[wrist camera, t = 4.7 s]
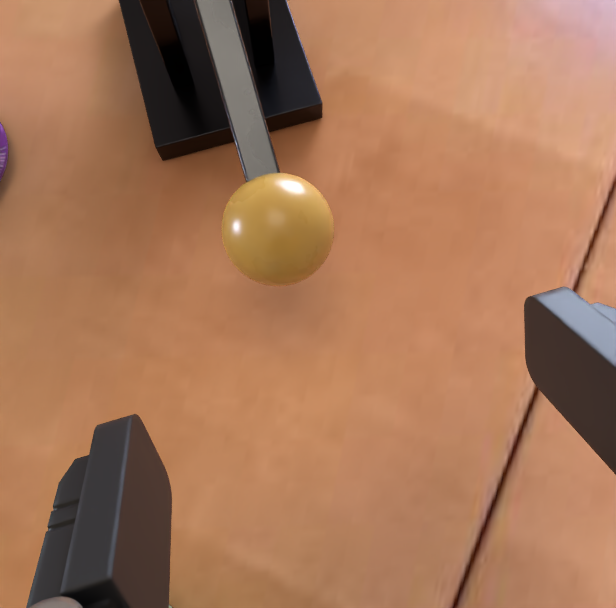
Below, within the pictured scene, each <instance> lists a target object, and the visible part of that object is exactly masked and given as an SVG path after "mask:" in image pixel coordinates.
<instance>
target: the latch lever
mask: <svg viewBox="0 0 616 608" xmlns="http://www.w3.org/2000/svg"><path fill="white" fill-rule="evenodd" d="M194 3H195V7H196V10H197V14H198V17H199V21H200V24H201V28H202V31H203V35H204V38H205V41H206V45H207V48H208V52H209V55H210V59H211V62H212V66H213V69H214V73H215V76H216V80H217V83H218V86H219V90H220V93H221V97H222V100H223V104H224V107H225V111H226V114H227V118H228V121H229V125H230V128H231V131H232V135H233V138H234V142H235V145H236V149H237V152H238V156H239V159H240V163H241V166H242V170H243V173H244V177H245V180H246V183H244V184H243V185H242V186H241V187H240V188H238V189H237V190H236V192H235V193H234V194H233V195H232V197H231V198H230V200H229V201H228V203H227V206H226V208H225V211H224V214H223V218H222V228H221V231H222V240H223V244H224V247H225V250H226V253H227V255H228V257H229V258H230V260H231V261H232V263H233V264H234V266H235V267H236V268H237V269H238V270H239V271H240V272H241V273H243V274H244V275H245V276H247V277H248V278H250V279H252V280H254V281H256V282H258V283H261V284H264V285H270V286H287V285H291V284H295V283H298V282H300V281H302V280H304V279H306V278H308V277H309V276H311V275H312V274H313V273H314V272H316V271H317V270H318V269H319V268H320V266H321V265H322V264H323V263H324V261H325V260H326V258H327V256H328V254H329V252H330V249H331V246H332V243H333V238H334V222H333V217H332V213H331V210H330V207H329V205H328V203H327V201H326V200H325V198H324V197H323V195H322V194H321V193H320V192H319V191H318V190H317V189H316V188H315V187H314V186H313V185H312V184H310V183H309V182H307V181H306V180H304V179H302V178H300V177H297V176H295V175H291V174H286V173H280V169H279V166H278V162H277V159H276V155H275V152H274V148H273V145H272V141H271V138H270V134H269V131H268V127H267V124H266V120H265V116H264V113H263V109H262V106H261V102H260V99H259V95H258V92H257V88H256V85H255V81H254V78H253V74H252V71H251V67H250V64H249V60H248V57H247V53H246V49H245V46H244V42H243V39H242V35H241V32H240V28H239V25H238V21H237V18H236V14H235V11H234V7H233V4H232V0H194Z"/></svg>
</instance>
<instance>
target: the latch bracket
mask: <svg viewBox="0 0 616 608" xmlns="http://www.w3.org/2000/svg"><path fill="white" fill-rule="evenodd" d="M119 3H120V7H121V11H122V15H123V19H124V23H125V27H126V31H127V35H128V39H129V43H130V47H131V51H132V55H133V59H134V63H135V67H136V71H137V75H138V79H139V83H140V87H141V91H142V95H143V99H144V103H145V107H146V111H147V115H148V119H149V123H150V127H151V131H152V135H153V139H154V143H155V147H156V149H157V151H158V153H159V155H160V157H161V159H162V160H167V159H171V158H175V157H178V156H182V155H186V154H189V153H193V152H197V151H200V150H204V149H208V148H211V147H215V146H219V145H223V144H226V143H230V142H234V138H233V135H232V131H231V128H230V125H229V121H228V118H227V114H226V111H225V107H224V104H223V100H222V97H221V93H220V90H219V86H218V83H217V80H216V76H215V73H214V69H213V66H212V62H211V59H210V55H209V52H208V48H207V45H206V41H205V38H204V35H203V31H202V28H201V24H200V21H199V17H198V14H197V10H196V7H195V3H194V0H119ZM232 4H233V7H234V11H235V14H236V18H237V21H238V25H239V28H240V32H241V35H242V39H243V42H244V46H245V49H246V53H247V57H248V60H249V64H250V67H251V71H252V74H253V78H254V81H255V85H256V88H257V92H258V95H259V99H260V102H261V106H262V109H263V113H264V116H265V120H266V124H267V127H268V131H269V132H271V131H274V130H278V129H282V128H285V127H289V126H293V125H297V124H300V123H304V122H308V121H311V120H315V119H319V118H322V100H321V97H320V95H319V92H318V89H317V86H316V83H315V80H314V77H313V75H312V72H311V69H310V66H309V63H308V60H307V57H306V55H305V52H304V49H303V46H302V43H301V40H300V37H299V35H298V32H297V29H296V26H295V23H294V20H293V17H292V15H291V12H290V9H289V6H288V3H287V0H232Z"/></svg>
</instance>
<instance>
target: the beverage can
mask: <svg viewBox="0 0 616 608" xmlns="http://www.w3.org/2000/svg"><path fill="white" fill-rule="evenodd" d="M7 160H8V142H7V137H6V133H5V130H4V128H3V126H2V124H1V122H0V181H1V179H2V177H3V174H4V172H5V169H6V165H7Z"/></svg>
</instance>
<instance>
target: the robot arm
mask: <svg viewBox="0 0 616 608" xmlns="http://www.w3.org/2000/svg"><path fill="white" fill-rule="evenodd" d="M524 321H525V358H526V364H527V368H528V371H529V374H530V376H531V378H532V380H533V382H534V383H535V385H536V386H537V387H538V389H539V390H540V391H541V392H542V393H543V394H544V395H545V396H546V398H547V399H548V400H549V401H550V402H551V403H552V404H553V405H554V406H555V408H556V409H557V410H558V411H559V412H560V413H561V414H562V415H563V416H564V418H565V419H566V420H567V421H568V422H569V423H570V424H571V425H572V426H573V428H574V429H575V430H576V431H577V432H578V433H579V434H580V435H581V436H582V438H583V439H584V440H585V441H586V442H587V443H588V444H589V445H590V446H591V448H592V449H593V450H594V451H595V452H596V453H597V454H598V455H599V457H600V458H601V459H602V460H603V461H604V462H605V463H606V464H607V465H608V467H609V468H610V469H611V470H612V471H613V472H614V473H615V474H616V309H615V308H612V307H609V306H606V305H604V304H601V303H594V304H589V303H588V302H587V301H585V300H584V299H583V298H581V297H580V296H579V295H577V294H576V293H575V292H573V291H572V290H571V289H569V288H567V287H560V288H557V289H554V290H550V291H547V292H543V293H540V294H537V295H533V296H530V297H528V298H527V299H526V300H525V304H524ZM53 509H54V511H52V512H51V515H50V519H49V523H48V531H47V532H46V534H45V538H44V542H43V546H42V549H41V553H40V557H39V561H38V565H37V568H36V572H35V576H34V580H33V584H32V587H31V591H30V595H29V599H28V603H27V606H26V608H169V580H170V546H171V513H172V494H171V487H170V482H169V478H168V475H167V472H166V469H165V467H164V465H163V463H162V461H161V459H160V457H159V455H158V453H157V450H156V448H155V446H154V444H153V442H152V440H151V438H150V436H149V434H148V432H147V430H146V428H145V426H144V424H143V422H142V420H141V419H140V417H139V416H138V415H137V414H133V415H130V416H127V417H123V418H120V419H116V420H113V421H110V422H106V423H103V424H99V425H97V426H96V428H95V430H94V435H93V439H92V444H91V449H90V454H89V455H88V456H84V457H81V458H77V459H75V460H74V462H73V463H72V465H71V466H70V468H69V469H68V471H67V472H66V473H65V475H64V476H63V478H62V479H61V481H60V482H59V485H58V489H57V493H56V496H55V500H54V504H53Z"/></svg>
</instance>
